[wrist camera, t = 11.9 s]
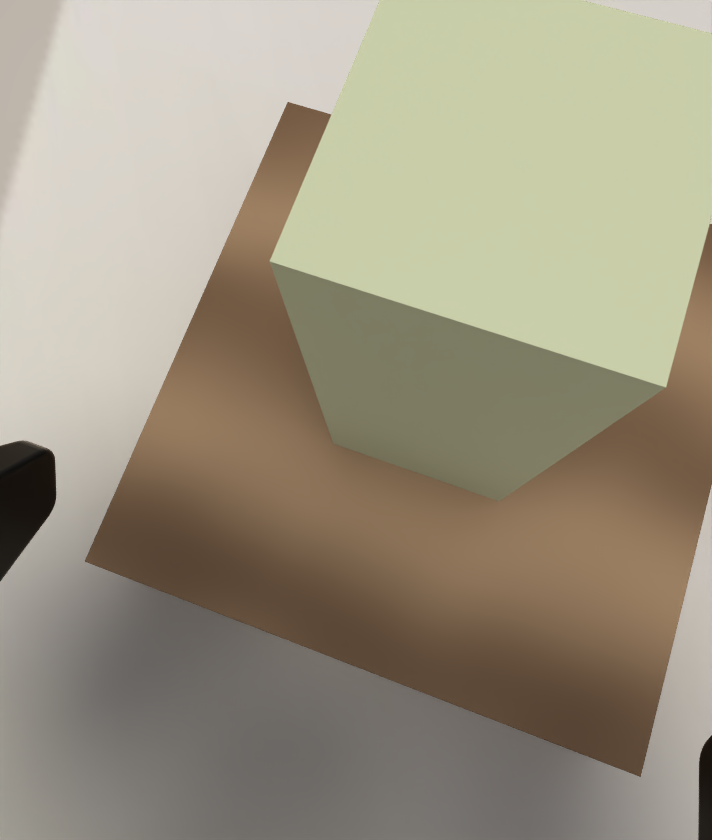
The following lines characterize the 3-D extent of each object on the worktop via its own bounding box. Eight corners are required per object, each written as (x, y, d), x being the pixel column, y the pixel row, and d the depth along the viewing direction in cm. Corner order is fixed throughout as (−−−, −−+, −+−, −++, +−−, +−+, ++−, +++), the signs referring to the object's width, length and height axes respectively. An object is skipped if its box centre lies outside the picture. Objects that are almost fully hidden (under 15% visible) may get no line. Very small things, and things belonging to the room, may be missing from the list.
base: (598, 744, 18) (640, 776, 15) (128, 564, 20) (84, 561, 17) (716, 288, 21) (770, 241, 18) (300, 164, 22) (287, 101, 20)
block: (499, 501, 17) (665, 387, 7) (333, 443, 17) (269, 261, 7) (548, 342, 17) (756, 45, 8) (390, 292, 18) (399, -46, 8)
